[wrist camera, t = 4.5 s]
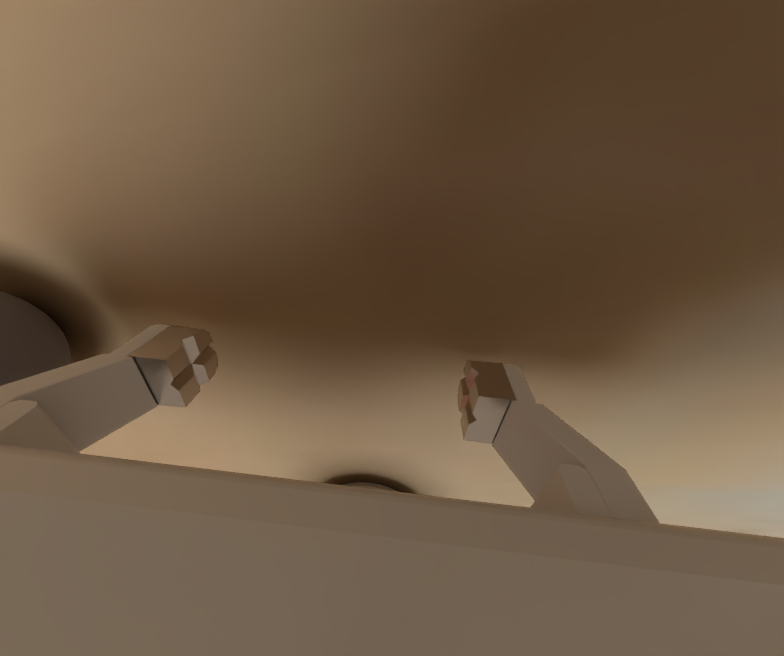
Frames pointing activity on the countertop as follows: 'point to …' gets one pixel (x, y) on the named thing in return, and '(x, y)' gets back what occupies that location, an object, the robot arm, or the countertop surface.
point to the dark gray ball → (28, 341)
